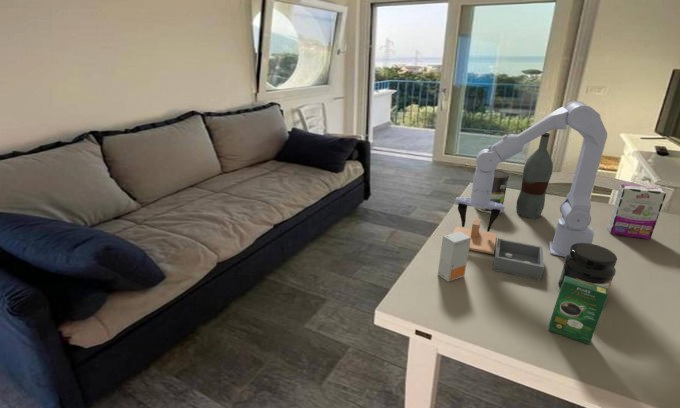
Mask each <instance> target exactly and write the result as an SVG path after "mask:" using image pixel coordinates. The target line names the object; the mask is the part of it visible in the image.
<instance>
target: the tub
mask: <svg viewBox="0 0 680 408" xmlns="http://www.w3.org/2000/svg"><path fill="white" fill-rule="evenodd" d="M496 242H497V243H496V246H495V251H494V252H495V253H494V260H493V266H492V270H494V271H498V272H502V273H506V274H511V275H515V276H520V277H525V278H530V279H534V280H537V281H542V277H543V273H544V269H545V261H544V249H543V246H541V245H536V244H530V243H529V244H528V243H525V242H519V241H513V240H509V239H504V238H497V241H496Z"/></svg>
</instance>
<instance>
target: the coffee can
mask: <svg viewBox="0 0 680 408" xmlns="http://www.w3.org/2000/svg"><path fill="white" fill-rule="evenodd" d="M509 176H510V174H509V173H508V172H506V171H503V170H499V169H495V171H494V181H493V187H492V193H491V199H490V201H493V202H496V203H500V204H505V203H504V202H505V197H506V193H507V192H506V191H507V187H508V182H509V178H510V177H509ZM475 210H477V211H479V212H483V213H487V214H491V210H490V209H484V208H482V209H480V208H475Z"/></svg>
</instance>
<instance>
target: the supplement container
mask: <svg viewBox="0 0 680 408" xmlns="http://www.w3.org/2000/svg"><path fill="white" fill-rule="evenodd" d="M617 261H618V257H617V255H616V254H615V253H614V252H613V251H612V250H610V249H608V248H606V247H604V246H601V245H598V244H594V243H592V244H589V243H576V244H573V245H572V246H571V248H570V251H569V255H567V256H566V257H564V263H563V267H562V270H561V274H560V278H559V280H558V286H557V287H558V288H559V290H560V289H561V286H562V283H563V280H564V277H565V276H567V277H571V278H574V279H577V280H581V281H584V282H588V283H591V284H594V285H598V286H601V287H605V288H608V292H609V291H610V289H611V285H612V282H613V279H614V277H615V275H616V272H617V271H616V268H615V266H616V265H617Z"/></svg>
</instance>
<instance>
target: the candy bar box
mask: <svg viewBox="0 0 680 408" xmlns="http://www.w3.org/2000/svg"><path fill="white" fill-rule="evenodd" d="M666 196H667V192H666V190H664V189H663V188H662V187H653V186H652V187H651V186H643V185H633V184H625V183H623V184H622V183H621V184H620V185H619V188H618V191H617V195H616V198H615V201H614V206H613V208H612V212H611V215H610V218H609V221H608V225H607V230H608V232H609V234H610V235H613V236H614V235H615V236H620V237H628V238H635V239H641V240H647V241H649V240H651V238H652V236H653V232H654V230H655V228H656V225H657V221H658V218H659V216H660V213H661V211H662V208H663V207H662V206H663V205H664V204H663V203H664V202H665V199H666Z"/></svg>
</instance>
